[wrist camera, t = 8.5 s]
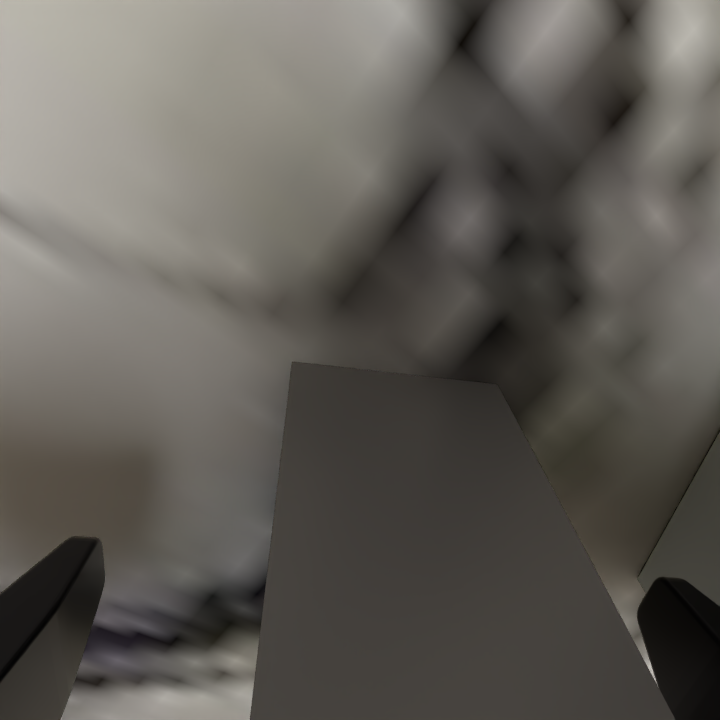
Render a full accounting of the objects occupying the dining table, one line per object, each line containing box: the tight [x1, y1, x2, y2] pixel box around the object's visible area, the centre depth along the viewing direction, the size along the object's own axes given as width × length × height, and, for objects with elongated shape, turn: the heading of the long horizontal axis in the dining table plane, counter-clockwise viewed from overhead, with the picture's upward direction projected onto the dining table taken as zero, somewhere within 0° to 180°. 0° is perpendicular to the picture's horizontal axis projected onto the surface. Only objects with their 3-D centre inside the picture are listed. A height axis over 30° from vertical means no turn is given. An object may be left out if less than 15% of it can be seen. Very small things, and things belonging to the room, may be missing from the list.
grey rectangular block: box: [250, 362, 675, 720], centre depth 8 cm, size 4×4×8 cm
